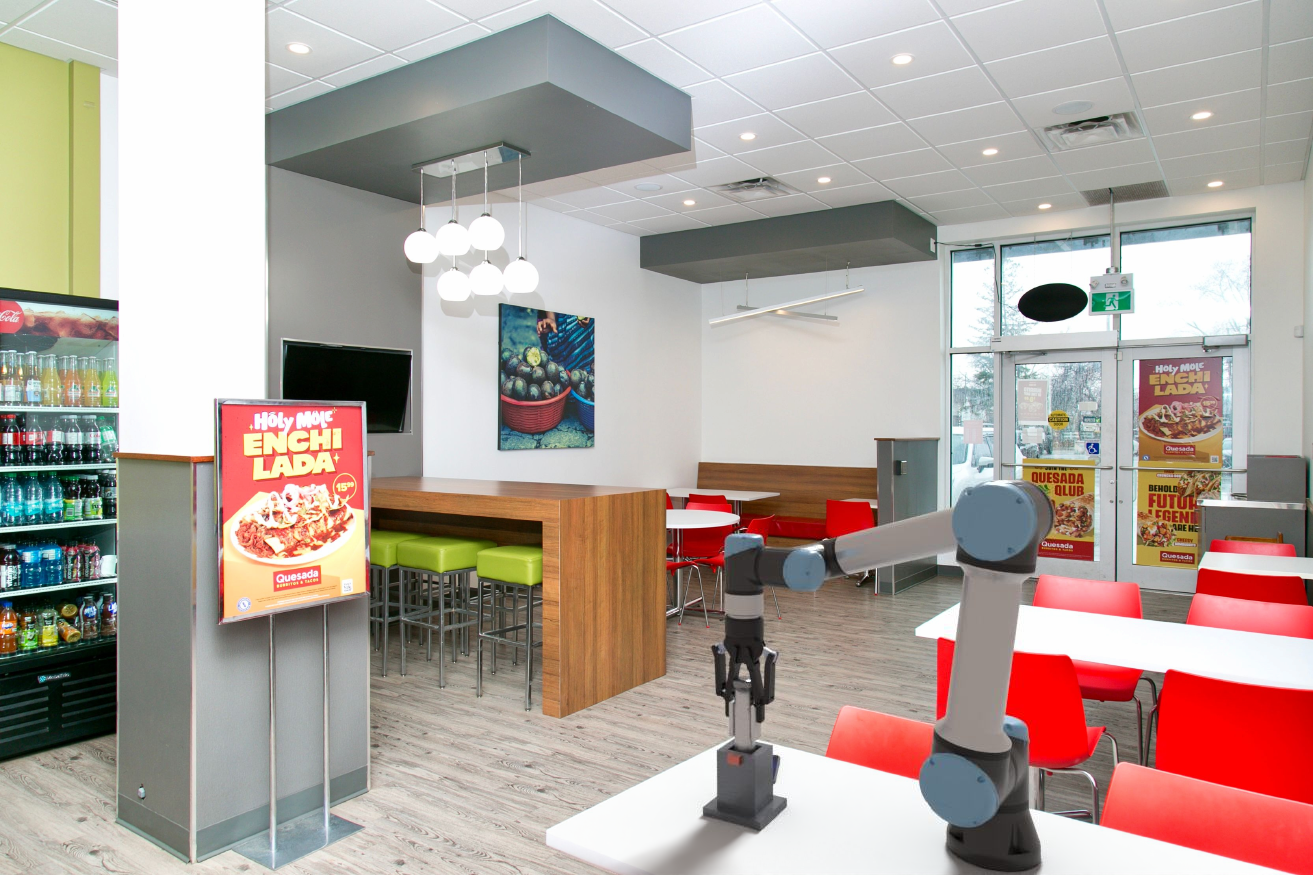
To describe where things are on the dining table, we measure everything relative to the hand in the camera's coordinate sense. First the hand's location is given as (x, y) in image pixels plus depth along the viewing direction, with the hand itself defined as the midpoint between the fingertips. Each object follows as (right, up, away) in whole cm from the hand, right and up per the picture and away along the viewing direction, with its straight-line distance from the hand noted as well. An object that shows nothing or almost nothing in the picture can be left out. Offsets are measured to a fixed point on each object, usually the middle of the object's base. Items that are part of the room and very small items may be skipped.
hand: (745, 736), depth 156 cm
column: (0, -12, 0) cm, 12 cm away
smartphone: (+6, -15, +20) cm, 26 cm away
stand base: (0, -14, 0) cm, 14 cm away
